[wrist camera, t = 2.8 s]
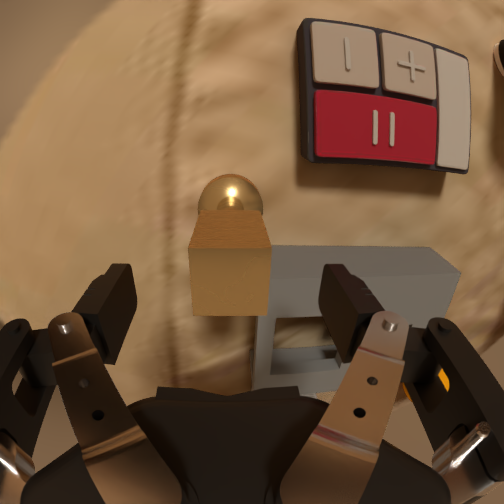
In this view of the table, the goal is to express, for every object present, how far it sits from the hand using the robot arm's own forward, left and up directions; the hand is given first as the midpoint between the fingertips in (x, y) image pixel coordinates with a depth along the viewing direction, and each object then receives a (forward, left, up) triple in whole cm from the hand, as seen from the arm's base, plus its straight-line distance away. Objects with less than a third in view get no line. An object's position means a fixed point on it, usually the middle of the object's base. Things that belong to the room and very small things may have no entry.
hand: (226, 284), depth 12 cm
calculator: (-13, -10, -13) cm, 20 cm away
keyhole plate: (-11, +10, -12) cm, 19 cm away
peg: (0, 0, -12) cm, 12 cm away
